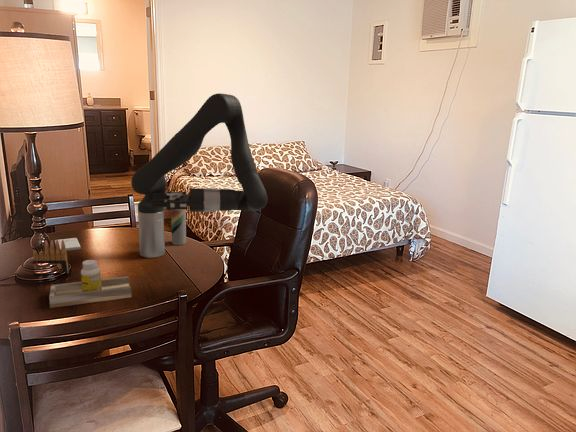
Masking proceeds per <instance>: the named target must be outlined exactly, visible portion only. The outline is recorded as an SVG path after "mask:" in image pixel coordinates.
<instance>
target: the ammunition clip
mask: <svg viewBox="0 0 576 432" xmlns="http://www.w3.org/2000/svg"><path fill="white" fill-rule="evenodd" d="M55 240H56V245H55V243H54V242H53V241H54V240H53V239H51V240H50V242H48V240H47V239H45V241H44V246H43V248H44V251H42V249H41V251H40V252H39V251H38V253H39V254H38V253H37V251H36V250H34V249H33V248H32V258H33V261H32V264H33V263H36V262H46V263H50V264H52V265H57V267H58V268H59V269H63V271H64V272H65V273H66V274H67V275H69V274H70V268H69V267H70V266H69V261H68V254H67V253H68V251H66V248H65V243H64V241H63V240H62V243H61V251H60V245H59V242H58V240H59V239H55ZM41 242H42V239H40V240H39V241H38V245H39V244H41ZM38 260H39V261H38ZM44 260H45V261H44Z"/></svg>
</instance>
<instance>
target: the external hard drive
mask: <svg viewBox="0 0 576 432" xmlns="http://www.w3.org/2000/svg"><path fill="white" fill-rule="evenodd" d="M56 240H58V242H59V245H60V251H61V243H62V240H63V241H64V243H65V248H66V252H68V251H74V250H75V251H76V250H81V247H82V246H81V245H80V243H79V240H78V238H77V237H71V238H63V239H55V240H54V246H56Z"/></svg>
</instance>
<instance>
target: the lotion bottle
mask: <svg viewBox="0 0 576 432" xmlns="http://www.w3.org/2000/svg"><path fill="white" fill-rule="evenodd" d="M174 206H175V205H174ZM186 211H187V209H177V210H170V213H171V214H170V216H171V217H170V219H171V220H170V221H171V242H172V245H175V246H183V245H185V244H186V242H187V224H186V223H187V222H186V221H187V219H186V216H187V215H186V214H187V213H186Z"/></svg>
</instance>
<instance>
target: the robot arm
mask: <svg viewBox="0 0 576 432" xmlns="http://www.w3.org/2000/svg"><path fill="white" fill-rule="evenodd" d="M243 113H244V112H243V108H242V105H241V102H240V100H239V98H237V97H236V96H235V95H233V94H227V93H221V92H220V93H214V94H211V95H210V96H209V97H208V98H207V99H206V101H204V103H203V104H202V106H201V107H200V108H199V109H198V110H197V112H196V113H195V114H194V115H193V117H192V118H190V120H189V121H188V122H186V123H185V125H184V126H182V128H181V129H180V130H179V131H177V133H175V134H174V135H173V136H172V137H171V139H170V140H169V141H167V143H166V144H165V145H164V146H162V148H161V149H160V150H159V151H158V152H157V153H156V154H155V155H154V156H153V157H152V158H151V159H150V160H149V161H148V162H147V163H145V164H143V165H142V166H141V167H140V168H139V169H137V170H136V171H135V172H134V173H133V175H132V177H131V188H132V189H133V191H134V192H136V193H137V194H139V195H144V196H143V198H142V199H141V200H140V201H139V202H138V204H137V215H138V216H137V219H138V238H139V241H138V242H139V255H140V256H141V257H144V258H149V259H150V258H158V257H162V256H164V255H165V253H166V248H165V246H166V245H165V242H166V241H165V217H164V216H165V215H164V214H165V213H164V210H165V209H166V210H168V211H171V210H177V209H185V210H187V207H189V211H190V212H191V213H209V212H213V213H214V212H223V211H225V212H226V211H244V212H256V211H257V212H258V211H260V210H263V209H264V208H265V207H266V206H267V204H268V200H269V199H268V193H267V191H266V190H267V189H266V188H265V186H264V184H263V181H262V180H261V178H260V176H259V172H258V169H257V166H256V163H255V160H254V158H253V155H252V152H251V148H250V145H249V140H248V135H247V134H248V133H247V130H246V125H245V119H244V114H243ZM221 123H222V124H224V125H225V126H226V128H227V130H228V133H229V137H230V160H231V164H232V168H233V171H234V173H235V175H236V179H237V181H238V183H239V184H240V185H241V187H242V190H236V189H233V188H212V187H211V188H209V187H207V188H205V187H204V188H202V187H201V188H199V187H195V188H189V193H188V194H187V192H186V191H167V192H166V190H167V188H166V187H167V186H166V185H167V182H166V175H168V173H171V172H172V171H175V170H176V169H178V168H179V167H181V166H183V165H184V164H185V163H187V162H188V161H189V160H191V158H192V157H194V156H195V155H196V154H197V153H198V152H199V150H200V148H201V147H202V144H203V141H204V138H205V136H206V135H207V134H208V133H209V132H210V131H211V130H213V129H214V128H215V127H216V126H218V125H219V124H221ZM174 205H175V206H174Z"/></svg>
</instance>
